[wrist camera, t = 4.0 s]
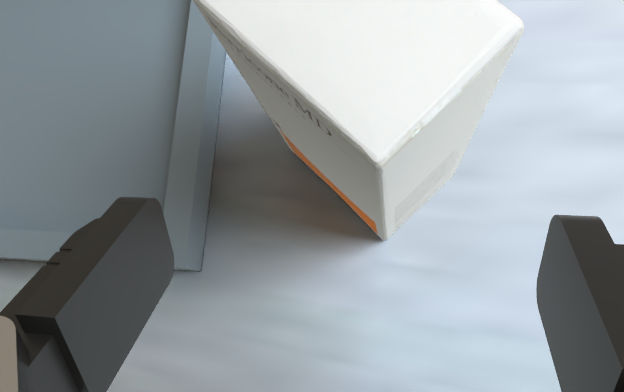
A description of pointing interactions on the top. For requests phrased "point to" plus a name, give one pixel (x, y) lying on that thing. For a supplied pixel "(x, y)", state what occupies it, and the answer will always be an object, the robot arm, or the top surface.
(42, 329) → the robot arm
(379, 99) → the skincare box
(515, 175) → the top surface
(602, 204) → the top surface
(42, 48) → the tray
